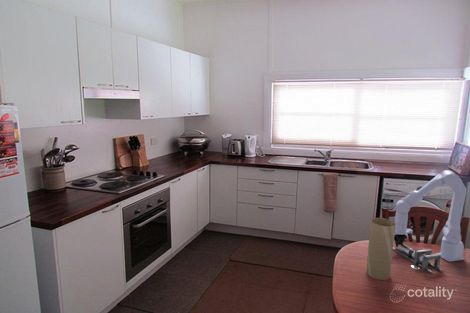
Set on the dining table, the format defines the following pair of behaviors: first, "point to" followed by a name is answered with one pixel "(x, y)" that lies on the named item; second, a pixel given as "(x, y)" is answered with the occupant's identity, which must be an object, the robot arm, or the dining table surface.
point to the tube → (380, 248)
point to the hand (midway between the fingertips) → (398, 247)
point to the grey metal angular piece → (425, 259)
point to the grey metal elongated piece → (410, 252)
